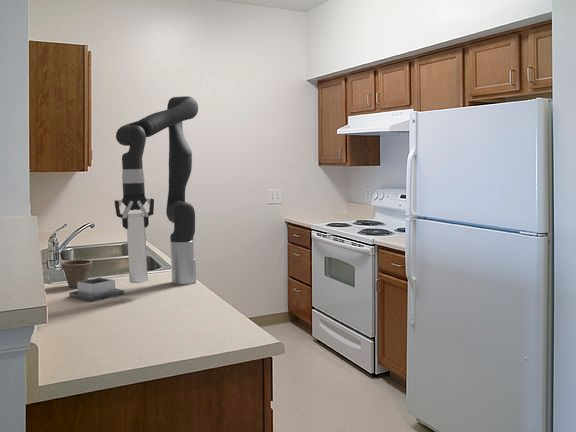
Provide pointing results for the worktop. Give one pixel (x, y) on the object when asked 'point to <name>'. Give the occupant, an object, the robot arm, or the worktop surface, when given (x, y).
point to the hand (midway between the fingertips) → (135, 227)
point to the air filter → (136, 248)
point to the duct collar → (96, 289)
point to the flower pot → (76, 271)
